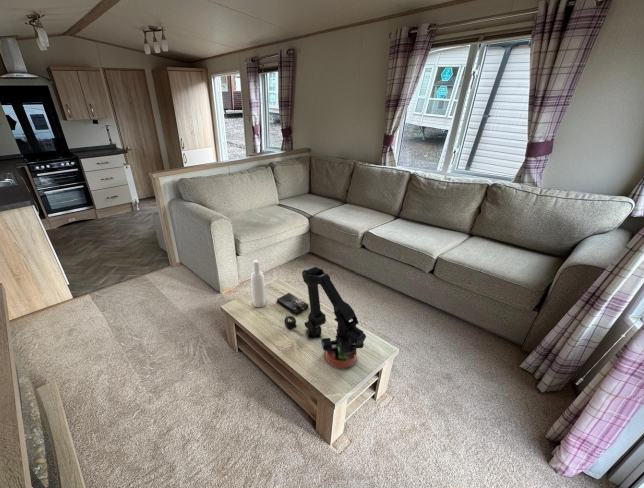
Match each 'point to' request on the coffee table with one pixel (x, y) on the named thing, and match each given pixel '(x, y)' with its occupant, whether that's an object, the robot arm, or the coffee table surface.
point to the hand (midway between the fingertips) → (340, 355)
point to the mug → (290, 322)
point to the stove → (291, 304)
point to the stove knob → (298, 303)
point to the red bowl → (338, 363)
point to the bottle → (258, 285)
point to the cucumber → (341, 357)
